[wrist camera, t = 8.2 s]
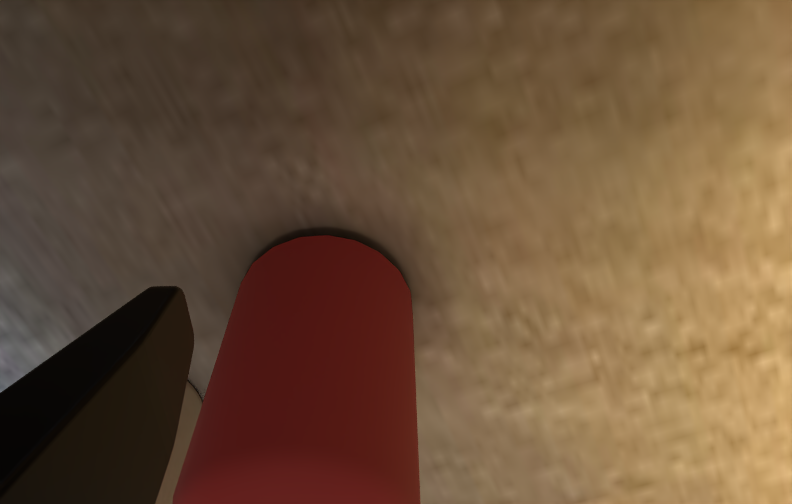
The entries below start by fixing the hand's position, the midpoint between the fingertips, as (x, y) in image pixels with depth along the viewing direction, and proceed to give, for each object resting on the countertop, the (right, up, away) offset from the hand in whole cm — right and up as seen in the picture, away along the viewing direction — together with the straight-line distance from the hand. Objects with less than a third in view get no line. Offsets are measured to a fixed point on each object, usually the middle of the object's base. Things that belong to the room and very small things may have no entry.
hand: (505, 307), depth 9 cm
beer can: (-4, -1, +17) cm, 17 cm away
